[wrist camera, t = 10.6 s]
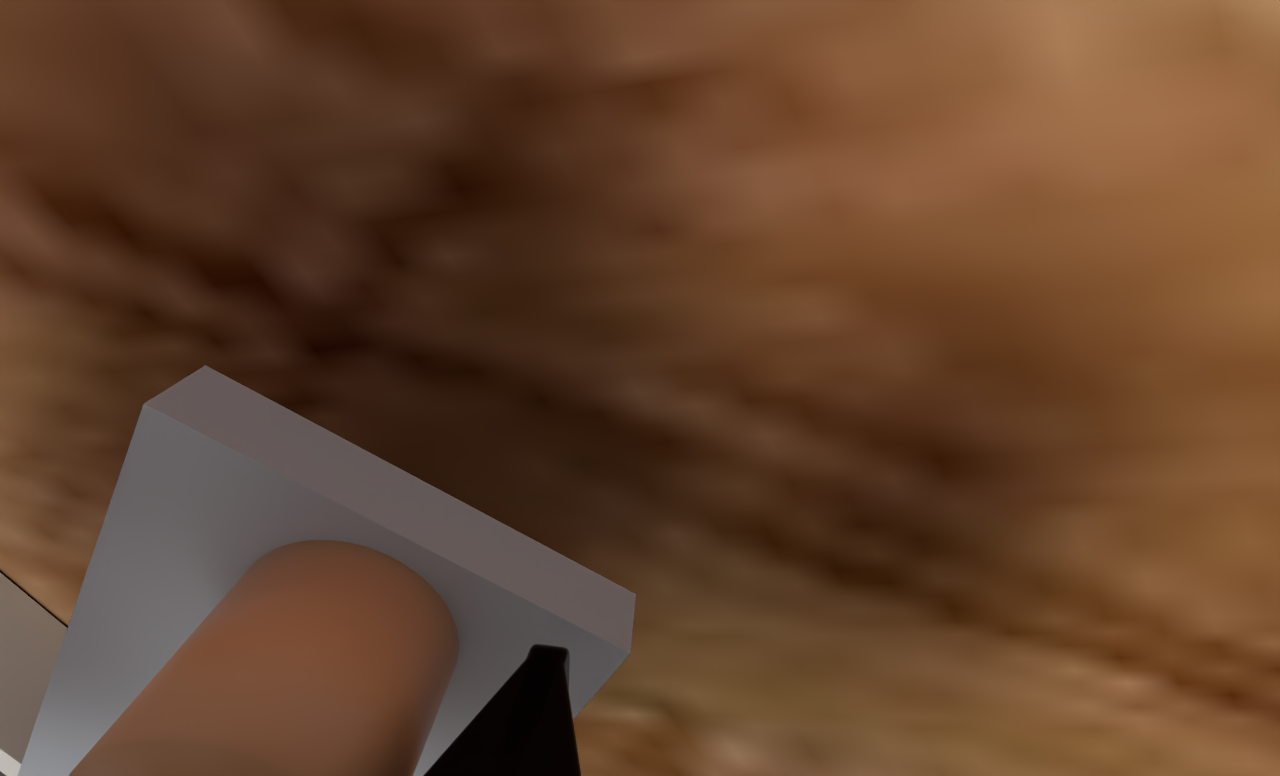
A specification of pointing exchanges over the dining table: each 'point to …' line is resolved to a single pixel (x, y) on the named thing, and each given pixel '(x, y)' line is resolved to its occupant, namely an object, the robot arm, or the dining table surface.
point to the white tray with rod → (23, 669)
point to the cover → (298, 607)
